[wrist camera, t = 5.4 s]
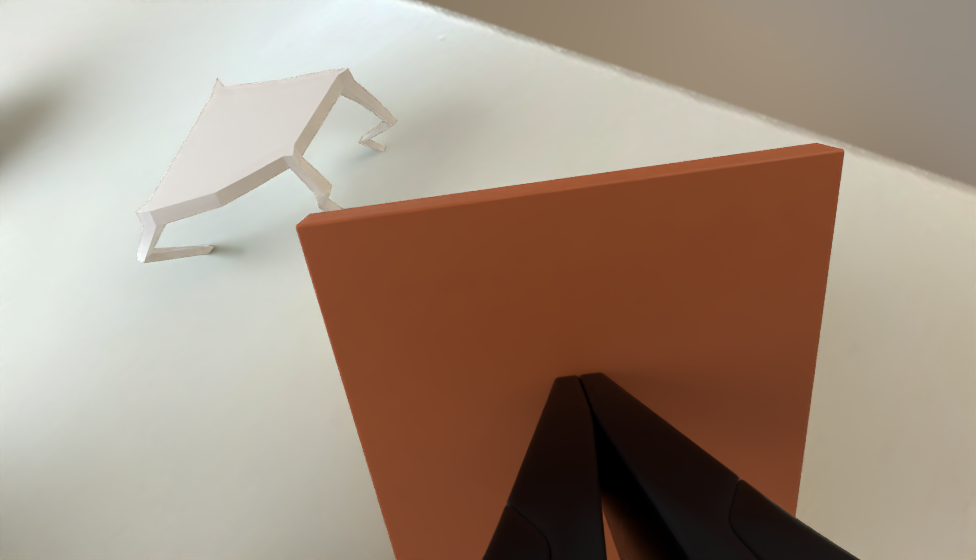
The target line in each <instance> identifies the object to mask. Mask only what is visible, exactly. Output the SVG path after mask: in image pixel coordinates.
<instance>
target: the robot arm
mask: <svg viewBox="0 0 976 560" xmlns="http://www.w3.org/2000/svg"><path fill="white" fill-rule="evenodd" d="M602 509H603V512H604V515H605V518H606V521H607V524H608V527H609V530H610V532H611V535H612V538H613V541H614V544H615V547H616V550H617V553H618V556H619V558H620V560H860V559H858V558H857V557H855V556H854V555H852V554H850V553H849V552H847V551H846V550H844V549H843V548H841V547H839V546H838V545H836V544H835V543H833V542H832V541H830V540H829V539H827V538H826V537H824V536H822V535H821V534H819V533H818V532H816V531H815V530H813V529H812V528H810V527H809V526H807V525H806V524H804V523H803V522H801V521H800V520H798V519H797V518H795V517H794V516H792V515H791V514H790V513H788V512H787V511H786V510H784V509H783V508H781V507H780V506H779V505H777V504H776V503H774V502H773V501H772V500H770V499H769V498H768V497H766V496H765V495H763V494H762V493H761V492H759V491H758V490H757V489H755V488H754V487H753V486H751V485H750V484H749V483H748V482H746V481H745V480H743V479H742V480H740V477H739V476H738V475H737V474H735V473H734V472H733V471H731V470H730V469H729V468H727V467H726V466H725V465H723V464H722V463H721V462H720V461H718V460H717V459H716V458H714V457H713V456H712V455H710V454H709V453H708V452H706V451H705V450H704V449H702V448H701V447H700V446H698V445H697V444H696V443H695V442H693V441H692V440H691V439H689V438H688V437H687V436H685V435H684V434H683V433H681V432H680V431H679V430H677V429H676V428H675V427H673V426H672V425H671V424H669V423H668V422H667V421H666V420H664V419H663V418H662V417H660V416H659V415H658V414H656V413H655V412H654V411H652V410H651V409H650V408H648V407H647V406H646V405H644V404H643V403H642V402H641V401H639V400H638V399H637V398H635V397H634V396H633V395H631V394H630V393H629V392H627V391H626V390H625V389H623V388H622V387H621V386H619V385H618V384H617V383H615V382H614V381H613V380H612V379H610V378H609V377H608V376H606V375H605V374H603V373H601V372H596V373H588V374H582V375H580V377H578V376H576V375H572V376H564V377H557V378H556V379H555V380H554V383H553V385H552V388H551V390H550V393H549V395H548V398H547V401H546V403H545V406H544V408H543V411H542V413H541V416H540V418H539V421H538V423H537V426H536V429H535V431H534V434H533V436H532V439H531V441H530V444H529V446H528V449H527V451H526V454H525V457H524V459H523V462H522V464H521V467H520V469H519V472H518V474H517V477H516V479H515V482H514V485H513V487H512V490H511V492H510V495H509V497H508V500H507V503H506V506H505V507H504V509H503V512H502V514H501V517H500V519H499V522H498V525H497V527H496V529H495V531H494V534H493V536H492V538H491V540H490V543H489V545H488V547H487V550H486V552H485V554H484V556H483V558H482V559H481V560H607V553H606V543H605V532H604V522H603V512H602Z"/></svg>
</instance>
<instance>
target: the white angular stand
mask: <svg viewBox="0 0 976 560" xmlns="http://www.w3.org/2000/svg"><path fill="white" fill-rule="evenodd" d="M340 95H342V96H344V97H346V98H348V99H350V100H353V101H355V102H357V103H359V104H360V105H362V106H363V107H365V108H366V109H368V110H369V111H370V112H372V113H373V114H375V115H376V116H378V117H379V118H380V119H382V120H383V121H382V122H381V123H380V124H378V125H377V126H376V127H374V128H373V129H372V130H370V131H369V132H368V133H367V134H365V135H364V136H363V137H361V139H360V141H359V142H358V143H359V144H362V145H365V146H368V147H371V148H374V149H377V150H379V151H381V152H382V151H383V150H384V149H385V148H386V146H384V145H382V144H380V143H377V142H375V141H372V140H370V139H371V138H373V137H375V136H377V135H378V134H380V133H382V132H383V131H385V130H387V129H389V128H390V127H392V126H393V125H394V124H395V123H396V121H397V120H396V118H395V117H394V116H393V115H392V114H391V113H390V112H389V111H388V110H387V109H386V108H385V107H384V106H383V105H382V104H381V103H380V102H379V101H378V100H377V99H376V98H375V97H374V96H373V95H371V94H370V93H369V92H368V91H367V90H366V89H364V88H363V87H362V86H361V85H360V84H358V83H357V82H356V81H355V80H354V78H353V76H352V74H351V72H350V70H349V69H348V68H344V69H333V70H328V71H322V72H317V73H311V74H306V75H301V76H296V77H291V78H286V79H282V80H275V81H266V82H257V83H248V84H240V85H231V86H224V85H223V84H222V83H221V82H220V80H219V79H218V78H217V80H216V83H215V86H214V89H213V91H212V94H211V96H210V98H209V100H208V101H207V103H206V105H205V107H204V108H203V110H202V112H201V113H200V115H199V117H198V118H197V120H196V122H195V124H194V125H193V127H192V129H191V130H190V132H189V134H188V135H187V137H186V139H185V141H184V142H183V144H182V146H181V147H180V149H179V151H178V152H177V154H176V156H175V157H174V159H173V161H172V163H171V164H170V166H169V168H168V169H167V171H166V173H165V174H164V176H163V178H162V180H161V181H160V183H159V185H158V186H157V188H156V190H155V191H154V193H153V195H152V196H151V198H150V200H149V201H147V202H146V203H145V204H144V205H143V206H142V207H141V208H140V209H139V210H137V211H136V214H137V217H138V219H139V221H140V223H141V225H142V227H143V230H142V235H141V239H140V243H139V248H138V252H137V257H136V259H138V260H139V261H141V262H142V263H149V262H156V261H163V260H169V259H176V258H183V257H190V256H197V255H205V254H209V253H210V252H211V250H212V249H213V247H214V246H208V245H203V246H192V247H173V248H154V247H155V245H156V243H157V241H158V239H159V237H160V235H161V233H162V231H163V229H164V227H165V225H166V224H167V223H171V222H174V221H177V220H180V219H183V218H187V217H190V216H193V215H196V214H199V213H203V212H206V211H209V210H212V209H216V208H219V207H222V206H224V205H226V204H227V203H229V202H231V201H233V200H235V199H236V198H238V197H240V196H242V195H244V194H246V193H247V192H249V191H251V190H253V189H255V188H256V187H258V186H260V185H261V184H263V183H265V182H267V181H268V180H270V179H272V178H273V177H275V176H277V175H278V174H280V173H282V172H283V171H285V170H287V169H288V168H290V169H291V170H292V171H293V172H294V173H295V174H296V175H297V176H298V177H299V178H300V179H301V180H302V181H303V182H304V183H305V184H306V186H307V187H308V188H309V189H310V190H311V191H312V192H313V193H314V194H315V195H316V196H317V201H318V207H319V208H320V209H321V210H323V211H324V212H328V211H335V210H342V208H341V207H339V206H338V205H337V204H335V203H334V202H332V201H331V200H330V199H328V198H329V195H330V192H331V188H332V185H331V184H330V183H329V182H328V181H327V180H326V179H325V178H324V177H323V176H322V175H321V174H320V173H319V172H318V171H317V170H316V169H315V168H314V167H313V166H312V165H310V164H309V163H308V162H307V161H306V160H305V159H304V158H303V157H302V156H303V154H304V152H305V151H306V149H307V148H308V146H309V144H310V143H311V141H312V139H313V138H314V136H315V135H316V133H317V131H318V130H319V128H320V126H321V125H322V123H323V122H324V120H325V118H326V117H327V115H328V114H329V112H330V110H331V109H332V107H333V105H334V104H335V102H336V101H337V99H338V97H339V96H340Z"/></svg>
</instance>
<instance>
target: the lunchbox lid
mask: <svg viewBox="0 0 976 560" xmlns="http://www.w3.org/2000/svg"><path fill="white" fill-rule="evenodd" d="M843 158H844V150H843V149H840V148H835V147H831V146H827V145H823V144H819V143H813V144H806V145H798V146H791V147H784V148H777V149H770V150H763V151H756V152H749V153H741V154H734V155H727V156H720V157H713V158H706V159H699V160H691V161H684V162H677V163H670V164H663V165H656V166H649V167H642V168H634V169H627V170H620V171H613V172H606V173H599V174H592V175H585V176H577V177H570V178H563V179H556V180H549V181H542V182H535V183H527V184H520V185H513V186H506V187H499V188H492V189H485V190H478V191H470V192H463V193H456V194H449V195H442V196H435V197H428V198H420V199H413V200H406V201H399V202H392V203H385V204H378V205H371V206H363V207H356V208H349V209H342V210H335V211H328V212H321V213H313V214H309V215H308V216H307V217H306V218H304V219H303V220H302V221H301V222H300V223H299V224H297V225H296V230H297V233H298V236H299V240H300V243H301V246H302V250H303V253H304V256H305V260H306V263H307V266H308V270H309V273H310V276H311V279H312V283H313V286H314V289H315V293H316V296H317V299H318V303H319V306H320V309H321V313H322V316H323V319H324V323H325V326H326V329H327V332H328V336H329V339H330V342H331V346H332V349H333V352H334V356H335V359H336V362H337V366H338V369H339V372H340V376H341V379H342V382H343V385H344V389H345V392H346V395H347V399H348V402H349V405H350V409H351V412H352V415H353V419H354V422H355V425H356V428H357V432H358V435H359V438H360V442H361V445H362V448H363V452H364V455H365V458H366V462H367V465H368V468H369V472H370V475H371V478H372V481H373V485H374V488H375V491H376V495H377V498H378V501H379V505H380V508H381V511H382V515H383V518H384V521H385V525H386V528H387V531H388V534H389V538H390V541H391V544H392V548H393V551H394V554H395V558H396V560H481V559H482V558H483V556H484V554H485V552H486V550H487V547H488V545H489V543H490V540H491V538H492V536H493V534H494V531H495V529H496V527H497V525H498V522H499V519H500V517H501V514H502V512H503V509H504V507H505V506H506V503H507V500H508V497H509V495H510V492H511V490H512V487H513V485H514V482H515V479H516V477H517V474H518V472H519V469H520V467H521V464H522V462H523V459H524V457H525V454H526V451H527V449H528V446H529V444H530V441H531V439H532V436H533V434H534V431H535V429H536V426H537V423H538V421H539V418H540V416H541V413H542V411H543V408H544V406H545V403H546V401H547V398H548V395H549V393H550V390H551V388H552V385H553V383H554V380H555V379H556V378H557V377H564V376H572V375H576V376H578V377H580V375H582V374H588V373H596V372H601V373H603V374H605V375H606V376H608V377H609V378H610V379H612V380H613V381H614V382H615V383H617V384H618V385H619V386H621V387H622V388H623V389H625V390H626V391H627V392H629V393H630V394H631V395H633V396H634V397H635V398H637V399H638V400H639V401H641V402H642V403H643V404H644V405H646V406H647V407H648V408H650V409H651V410H652V411H654V412H655V413H656V414H658V415H659V416H660V417H662V418H663V419H664V420H666V421H667V422H668V423H669V424H671V425H672V426H673V427H675V428H676V429H677V430H679V431H680V432H681V433H683V434H684V435H685V436H687V437H688V438H689V439H691V440H692V441H693V442H695V443H696V444H697V445H698V446H700V447H701V448H702V449H704V450H705V451H706V452H708V453H709V454H710V455H712V456H713V457H714V458H716V459H717V460H718V461H720V462H721V463H722V464H723V465H725V466H726V467H727V468H729V469H730V470H731V471H733V472H734V473H735V474H737V475H738V476H739V477H740V480H742V479H743V480H745V481H746V482H748V483H749V484H750V485H751V486H753V487H754V488H755V489H757V490H758V491H759V492H761V493H762V494H763V495H765V496H766V497H768V498H769V499H770V500H772V501H773V502H774V503H776V504H777V505H779V506H780V507H781V508H783V509H784V510H786V511H787V512H788V513H790V514H791V515H792V516H794V517H795V515H796V508H797V501H798V493H799V486H800V478H801V471H802V463H803V456H804V448H805V441H806V434H807V426H808V419H809V411H810V404H811V396H812V389H813V381H814V374H815V367H816V359H817V352H818V344H819V337H820V329H821V322H822V314H823V307H824V300H825V292H826V285H827V277H828V270H829V262H830V255H831V247H832V240H833V233H834V225H835V218H836V210H837V203H838V195H839V188H840V180H841V173H842V166H843ZM602 512H603V509H602ZM603 522H604V532H605V543H606V553H607V560H620V558H619V556H618V553H617V550H616V547H615V544H614V541H613V538H612V535H611V532H610V530H609V527H608V524H607V521H606V518H605V515H604V512H603Z"/></svg>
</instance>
